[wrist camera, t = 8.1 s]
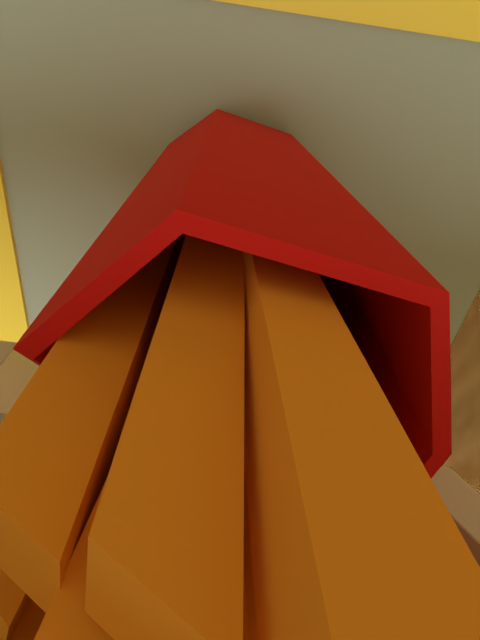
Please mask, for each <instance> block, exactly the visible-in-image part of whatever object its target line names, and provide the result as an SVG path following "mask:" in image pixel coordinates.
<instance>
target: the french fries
mask: <svg viewBox="0 0 480 640" xmlns="http://www.w3.org/2000/svg"><path fill="white" fill-rule="evenodd" d="M12 349H14V350H15V351H17V352H18V353H20V354H21V355H23V356H25V357H26V358H28V359H29V360H31V361H33V362H34V363H36V364H37V365H39V368H38V369H37V371H36V372H35V374H34V375H33V376H32V378H31V379H30V381H29V382H28V384H27V385H26V387H25V388H24V390H23V391H22V393H21V394H20V396H19V397H18V399H17V400H16V402H15V403H14V405H13V406H12V408H11V409H10V411H9V412H8V414H7V415H6V417H5V418H4V420H3V421H2V423H1V424H0V640H480V567H479V565H478V563H477V562H476V560H475V558H474V556H473V554H472V553H471V551H470V549H469V547H468V545H467V543H466V542H465V540H464V538H463V536H462V534H461V533H460V531H459V529H458V527H457V525H456V523H455V522H454V520H453V518H452V516H451V514H450V513H449V511H448V509H447V507H446V505H445V503H444V502H443V500H442V498H441V496H440V494H439V493H438V491H437V489H436V487H435V485H434V483H433V482H432V480H431V479H432V477H433V476H434V475H435V474H436V472H437V471H438V470H439V469H440V467H441V466H442V465H443V464H444V462H445V461H446V460H447V459H448V457H449V456H450V455H451V454H452V452H451V365H450V293H449V292H448V291H447V290H446V289H445V288H444V287H443V286H442V285H441V284H440V283H439V282H438V281H437V280H436V279H435V278H434V277H433V276H432V275H431V274H430V273H429V272H428V271H427V270H426V269H425V268H424V267H423V266H422V265H421V264H420V263H419V262H418V261H417V260H416V259H415V258H414V257H413V256H412V255H411V254H410V253H409V252H408V251H407V250H406V249H405V248H404V247H403V246H402V245H401V244H400V243H399V242H398V241H397V240H396V239H395V238H394V237H393V236H392V235H391V234H390V233H389V232H388V231H387V230H386V229H385V228H384V227H383V226H382V225H381V224H380V223H379V222H378V221H377V220H376V219H375V218H374V217H373V216H372V215H371V214H370V213H369V212H368V211H367V210H366V209H365V208H364V207H363V206H362V205H361V204H360V203H359V202H358V201H357V200H356V199H355V198H354V197H353V196H352V195H351V194H350V193H349V192H348V191H347V190H346V189H345V188H344V187H343V186H342V185H341V184H340V183H339V182H338V181H337V180H336V179H335V178H334V177H333V176H332V175H331V174H330V173H329V172H328V171H327V170H326V169H325V168H324V167H323V166H322V165H321V164H320V163H319V162H318V161H317V160H316V159H315V158H314V157H313V156H312V155H311V154H310V153H309V152H308V151H307V150H306V149H305V148H304V147H303V146H302V145H301V144H300V143H299V142H298V141H297V140H296V139H295V138H294V137H293V136H292V135H291V134H288V133H285V132H283V131H280V130H277V129H274V128H271V127H268V126H265V125H263V124H260V123H257V122H254V121H251V120H248V119H245V118H242V117H240V116H237V115H234V114H231V113H228V112H225V111H222V110H219V109H216V110H214V111H213V112H212V113H210V114H209V115H208V116H206V117H205V118H204V119H202V120H201V121H200V122H198V123H197V124H195V125H194V126H193V127H191V128H190V129H189V130H187V131H186V132H185V133H183V134H182V135H180V136H179V137H178V138H176V139H175V140H174V141H172V142H171V143H170V144H169V145H168V146H167V147H166V149H165V150H164V151H163V152H162V154H161V155H160V156H159V158H158V159H157V160H156V162H155V163H154V164H153V166H152V167H151V168H150V169H149V171H148V172H147V173H146V175H145V176H144V177H143V179H142V180H141V181H140V183H139V184H138V185H137V186H136V188H135V189H134V190H133V192H132V193H131V194H130V196H129V197H128V198H127V199H126V201H125V202H124V203H123V205H122V206H121V207H120V209H119V210H118V211H117V213H116V214H115V215H114V216H113V218H112V219H111V220H110V222H109V223H108V224H107V226H106V227H105V228H104V230H103V231H102V232H101V233H100V235H99V236H98V237H97V239H96V240H95V241H94V243H93V244H92V245H91V247H90V248H89V249H88V250H87V252H86V253H85V254H84V256H83V257H82V258H81V260H80V261H79V262H78V264H77V265H76V266H75V267H74V269H73V270H72V271H71V273H70V274H69V275H68V277H67V278H66V279H65V280H64V282H63V283H62V284H61V286H60V287H59V288H58V290H57V291H56V292H55V294H54V295H53V296H52V297H51V299H50V300H49V301H48V303H47V304H46V305H45V307H44V308H43V309H42V311H41V312H40V313H39V314H38V316H37V317H36V318H35V320H34V321H33V322H32V324H31V325H30V326H29V328H28V329H27V330H26V331H25V333H24V334H23V335H22V337H21V338H20V339H19V341H18V342H17V343H16V345H15V346H14V347H13V348H12Z"/></svg>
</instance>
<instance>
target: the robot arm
mask: <svg viewBox="0 0 480 640" xmlns="http://www.w3.org/2000/svg"><path fill="white" fill-rule="evenodd" d="M15 345H16V342H9V341H2V340H0V424H1V423H2V421H3V420H4V418H5V417H6V415H7V414H8V412H9V411H10V409H11V408H12V406H13V405H14V403H15V402H16V400H17V399H18V397H19V396H20V394H21V393H22V391H23V390H24V388H25V387H26V385H27V384H28V382H29V381H30V379H31V378H32V376H33V375H34V374H35V372H36V371H37V369H38V368H39V365H37V364H36V363H34V362H33V361H31V360H29V359H28V358H26V357H25V356H23V355H21V354H20V353H18V352H17V351H15V350H14V349H12V348H13V347H14V346H15ZM431 480H432V482H433V483H434V485H435V487H436V489H437V491H438V493H439V494H440V496H441V498H442V500H443V502H444V503H445V505H446V507H447V509H448V511H449V513H450V514H451V516H452V518H453V520H454V522H455V523H456V525H457V527H458V529H459V531H460V533H461V534H462V536H463V538H464V540H465V542H466V543H467V545H468V547H469V549H470V551H471V553H472V554H473V556H474V558H475V560H476V562H477V563H478V565H479V567H480V494H479V493H478V492H477V491H476V490H475V489H474V488H473V487H472V486H471V485H469V484H468V483H467V482H466V481H465V480H464V479H463V478H462V477H460V476H459V475H458V474H457V473H456V472H455V471H454V470H453V469H452V468H450V467H443V466H441V467H440V469H439V470H438V471H437V472H436V474H435V475H434V476H433V477H432V479H431Z"/></svg>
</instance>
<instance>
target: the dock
mask: <svg viewBox="0 0 480 640" xmlns="http://www.w3.org/2000/svg"><path fill="white" fill-rule="evenodd" d="M216 109H219V110H222V111H225V112H228V113H231V114H234V115H237V116H240V117H242V118H245V119H248V120H251V121H254V122H257V123H260V124H263V125H265V126H268V127H271V128H274V129H277V130H280V131H283V132H285V133H288V134H291V135H292V136H293V137H294V138H295V139H296V140H297V141H298V142H299V143H300V144H301V145H302V146H303V147H304V148H305V149H306V150H307V151H308V152H309V153H310V154H311V155H312V156H313V157H314V158H315V159H316V160H317V161H318V162H319V163H320V164H321V165H322V166H323V167H324V168H325V169H326V170H327V171H328V172H329V173H330V174H331V175H332V176H333V177H334V178H335V179H336V180H337V181H338V182H339V183H340V184H341V185H342V186H343V187H344V188H345V189H346V190H347V191H348V192H349V193H350V194H351V195H352V196H353V197H354V198H355V199H356V200H357V201H358V202H359V203H360V204H361V205H362V206H363V207H364V208H365V209H366V210H367V211H368V212H369V213H370V214H371V215H372V216H373V217H374V218H375V219H376V220H377V221H378V222H379V223H380V224H381V225H382V226H383V227H384V228H385V229H386V230H387V231H388V232H389V233H390V234H391V235H392V236H393V237H394V238H395V239H396V240H397V241H398V242H399V243H400V244H401V245H402V246H403V247H404V248H405V249H406V250H407V251H408V252H409V253H410V254H411V255H412V256H413V257H414V258H415V259H416V260H417V261H418V262H419V263H420V264H421V265H422V266H423V267H424V268H425V269H426V270H427V271H428V272H429V273H430V274H431V275H432V276H433V277H434V278H435V279H436V280H437V281H438V282H439V283H440V284H441V285H442V286H443V287H444V288H445V289H446V290H447V291H448V292H449V293H450V347H451V345H452V343H453V341H454V339H455V337H456V335H457V333H458V331H459V329H460V327H461V325H462V323H463V321H464V319H465V317H466V315H467V313H468V311H469V309H470V307H471V305H472V303H473V301H474V299H475V297H476V295H477V293H478V291H479V289H480V0H0V340H2V341H9V342H16V343H17V342H18V341H19V339H20V338H21V337H22V335H23V334H24V333H25V331H26V330H27V329H28V328H29V326H30V325H31V324H32V322H33V321H34V320H35V318H36V317H37V316H38V314H39V313H40V312H41V311H42V309H43V308H44V307H45V305H46V304H47V303H48V301H49V300H50V299H51V297H52V296H53V295H54V294H55V292H56V291H57V290H58V288H59V287H60V286H61V284H62V283H63V282H64V280H65V279H66V278H67V277H68V275H69V274H70V273H71V271H72V270H73V269H74V267H75V266H76V265H77V264H78V262H79V261H80V260H81V258H82V257H83V256H84V254H85V253H86V252H87V250H88V249H89V248H90V247H91V245H92V244H93V243H94V241H95V240H96V239H97V237H98V236H99V235H100V233H101V232H102V231H103V230H104V228H105V227H106V226H107V224H108V223H109V222H110V220H111V219H112V218H113V216H114V215H115V214H116V213H117V211H118V210H119V209H120V207H121V206H122V205H123V203H124V202H125V201H126V199H127V198H128V197H129V196H130V194H131V193H132V192H133V190H134V189H135V188H136V186H137V185H138V184H139V183H140V181H141V180H142V179H143V177H144V176H145V175H146V173H147V172H148V171H149V169H150V168H151V167H152V166H153V164H154V163H155V162H156V160H157V159H158V158H159V156H160V155H161V154H162V152H163V151H164V150H165V149H166V147H167V146H168V145H169V144H170V143H171V142H172V141H174V140H175V139H176V138H178V137H179V136H180V135H182V134H183V133H185V132H186V131H187V130H189V129H190V128H191V127H193V126H194V125H195V124H197V123H198V122H200V121H201V120H202V119H204V118H205V117H206V116H208V115H209V114H210V113H212V112H213V111H214V110H216Z"/></svg>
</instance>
